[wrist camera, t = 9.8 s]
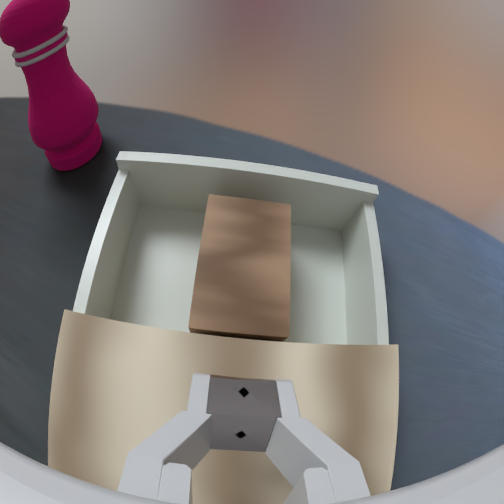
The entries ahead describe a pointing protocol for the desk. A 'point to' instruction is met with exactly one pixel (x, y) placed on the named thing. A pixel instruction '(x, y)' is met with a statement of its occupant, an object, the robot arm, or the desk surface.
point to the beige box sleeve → (177, 395)
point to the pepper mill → (52, 82)
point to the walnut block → (243, 270)
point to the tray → (189, 237)
